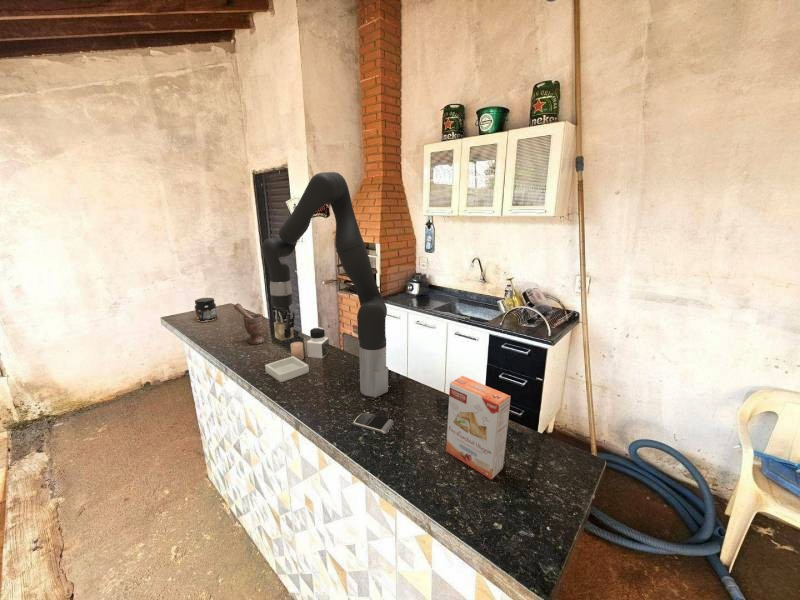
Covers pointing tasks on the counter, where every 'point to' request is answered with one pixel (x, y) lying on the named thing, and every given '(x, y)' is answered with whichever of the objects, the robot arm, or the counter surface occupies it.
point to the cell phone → (373, 422)
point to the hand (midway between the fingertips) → (284, 335)
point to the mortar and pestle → (252, 325)
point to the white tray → (287, 369)
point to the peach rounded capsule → (297, 350)
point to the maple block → (281, 331)
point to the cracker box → (477, 425)
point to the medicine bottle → (317, 343)
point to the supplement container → (205, 309)
